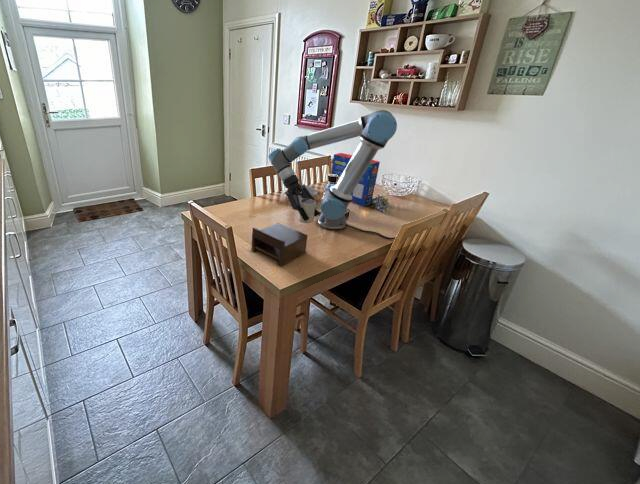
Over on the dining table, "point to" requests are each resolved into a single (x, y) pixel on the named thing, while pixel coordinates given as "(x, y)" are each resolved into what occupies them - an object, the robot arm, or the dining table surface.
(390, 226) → the dining table surface
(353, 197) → the pasta box
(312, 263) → the dining table surface
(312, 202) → the cup
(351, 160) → the robot arm
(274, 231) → the shelf
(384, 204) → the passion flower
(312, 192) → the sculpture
